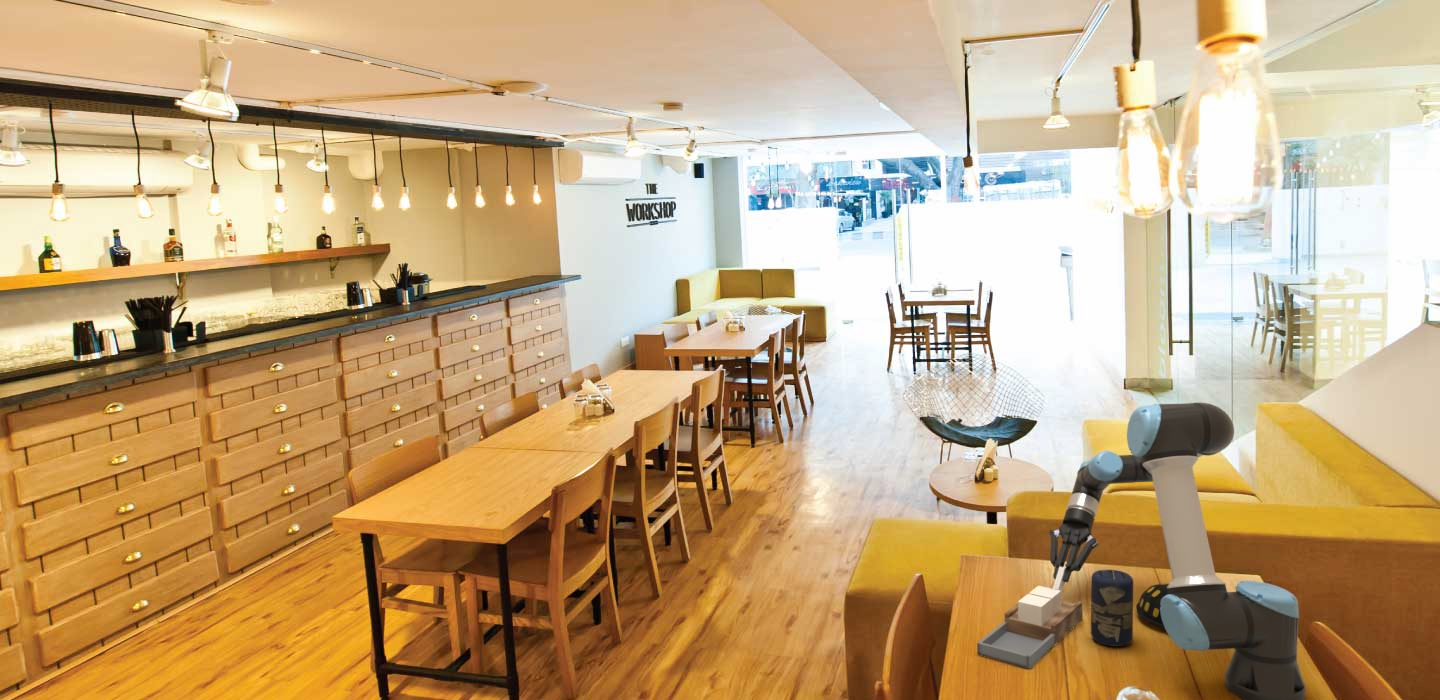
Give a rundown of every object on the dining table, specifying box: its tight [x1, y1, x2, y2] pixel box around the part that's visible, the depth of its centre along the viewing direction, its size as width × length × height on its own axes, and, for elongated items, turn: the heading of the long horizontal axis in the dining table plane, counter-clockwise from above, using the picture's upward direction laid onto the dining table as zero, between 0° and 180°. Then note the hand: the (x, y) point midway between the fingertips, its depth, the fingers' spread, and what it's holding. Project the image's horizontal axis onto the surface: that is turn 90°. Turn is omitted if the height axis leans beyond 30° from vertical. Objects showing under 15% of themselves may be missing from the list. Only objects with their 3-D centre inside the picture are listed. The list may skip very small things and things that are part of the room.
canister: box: [1090, 569, 1134, 647], centre depth 229 cm, size 10×10×18 cm
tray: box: [976, 621, 1056, 670], centre depth 228 cm, size 15×13×3 cm
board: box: [1004, 600, 1083, 645], centre depth 240 cm, size 18×13×5 cm
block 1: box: [1017, 593, 1051, 626], centre depth 235 cm, size 6×6×5 cm
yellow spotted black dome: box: [1135, 582, 1170, 629], centre depth 239 cm, size 16×9×20 cm
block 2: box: [1028, 585, 1062, 617], centre depth 240 cm, size 6×6×5 cm
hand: (1056, 591), depth 246 cm, fingers closed
